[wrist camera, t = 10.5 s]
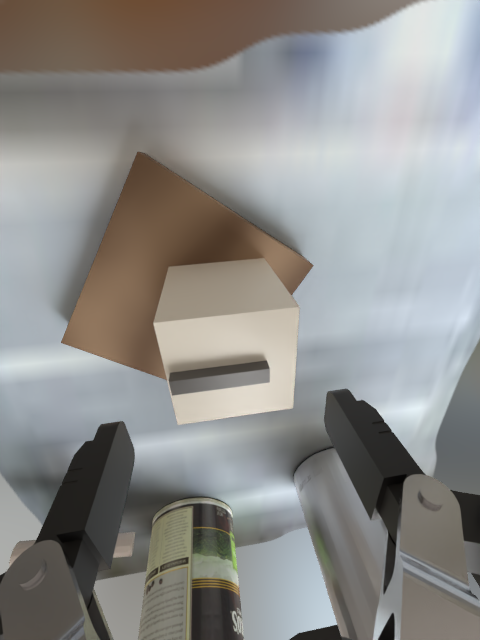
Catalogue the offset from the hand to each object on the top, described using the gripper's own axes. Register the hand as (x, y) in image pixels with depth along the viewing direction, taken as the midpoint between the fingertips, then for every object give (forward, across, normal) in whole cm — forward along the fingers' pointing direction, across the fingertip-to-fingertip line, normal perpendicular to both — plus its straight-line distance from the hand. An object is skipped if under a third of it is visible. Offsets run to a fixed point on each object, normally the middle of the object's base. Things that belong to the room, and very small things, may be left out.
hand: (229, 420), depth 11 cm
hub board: (+11, +2, -1) cm, 12 cm away
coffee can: (+12, +6, +30) cm, 33 cm away
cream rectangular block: (+9, 0, -1) cm, 9 cm away
